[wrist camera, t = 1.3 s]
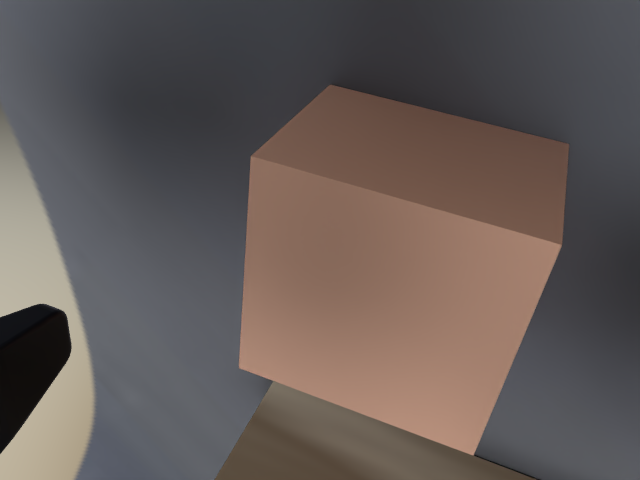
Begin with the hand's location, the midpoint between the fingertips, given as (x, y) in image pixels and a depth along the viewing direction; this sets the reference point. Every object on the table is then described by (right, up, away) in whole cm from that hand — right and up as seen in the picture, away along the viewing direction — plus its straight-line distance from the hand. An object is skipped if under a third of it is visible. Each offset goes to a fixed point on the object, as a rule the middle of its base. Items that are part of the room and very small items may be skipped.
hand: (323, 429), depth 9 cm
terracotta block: (+2, +3, +5) cm, 7 cm away
